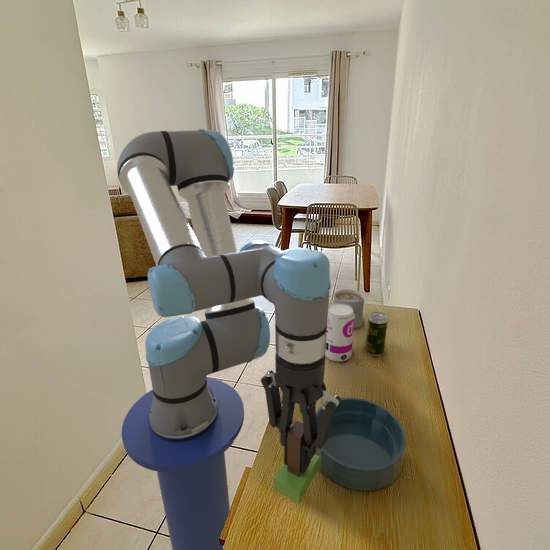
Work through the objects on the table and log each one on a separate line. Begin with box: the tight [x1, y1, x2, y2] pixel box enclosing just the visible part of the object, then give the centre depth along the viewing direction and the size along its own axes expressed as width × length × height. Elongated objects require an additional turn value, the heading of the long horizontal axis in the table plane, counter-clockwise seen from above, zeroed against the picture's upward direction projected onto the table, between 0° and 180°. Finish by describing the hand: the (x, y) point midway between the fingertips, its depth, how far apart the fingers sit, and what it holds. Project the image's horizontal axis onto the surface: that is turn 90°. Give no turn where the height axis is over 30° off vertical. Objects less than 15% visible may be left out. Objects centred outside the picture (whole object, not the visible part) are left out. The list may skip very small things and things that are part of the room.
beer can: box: [364, 311, 389, 357], centre depth 103 cm, size 5×5×12 cm
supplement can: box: [325, 304, 355, 363], centre depth 102 cm, size 8×8×15 cm
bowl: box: [315, 397, 407, 492], centre depth 72 cm, size 18×18×6 cm
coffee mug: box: [333, 288, 365, 330], centre depth 119 cm, size 13×10×10 cm
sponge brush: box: [273, 419, 320, 505], centre depth 62 cm, size 8×5×12 cm, turn 149°
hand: (297, 462), depth 62 cm, fingers closed on sponge brush, 2 cm apart
